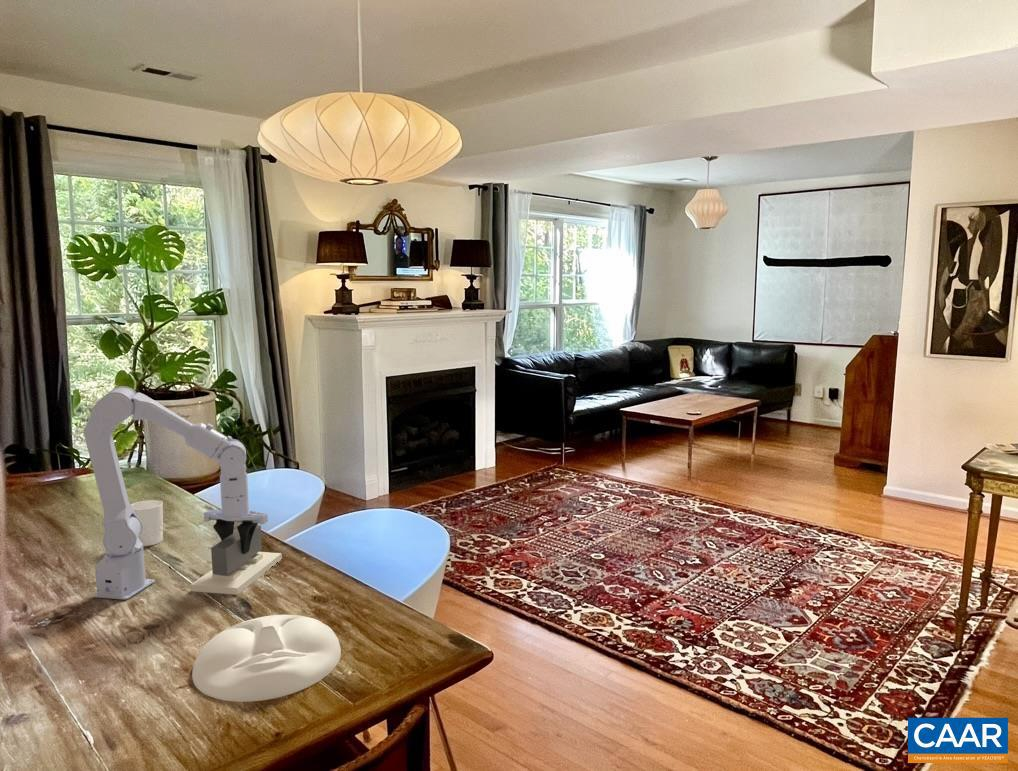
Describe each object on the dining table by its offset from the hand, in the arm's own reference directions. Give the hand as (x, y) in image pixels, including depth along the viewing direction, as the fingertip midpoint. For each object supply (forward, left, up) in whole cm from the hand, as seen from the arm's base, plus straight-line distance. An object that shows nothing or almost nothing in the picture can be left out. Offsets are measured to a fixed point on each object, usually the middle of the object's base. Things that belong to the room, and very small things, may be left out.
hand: (237, 551), depth 161 cm
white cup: (+15, +34, -6) cm, 38 cm away
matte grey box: (0, 0, -2) cm, 2 cm away
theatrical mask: (-33, -25, -6) cm, 42 cm away
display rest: (0, 0, -5) cm, 5 cm away
